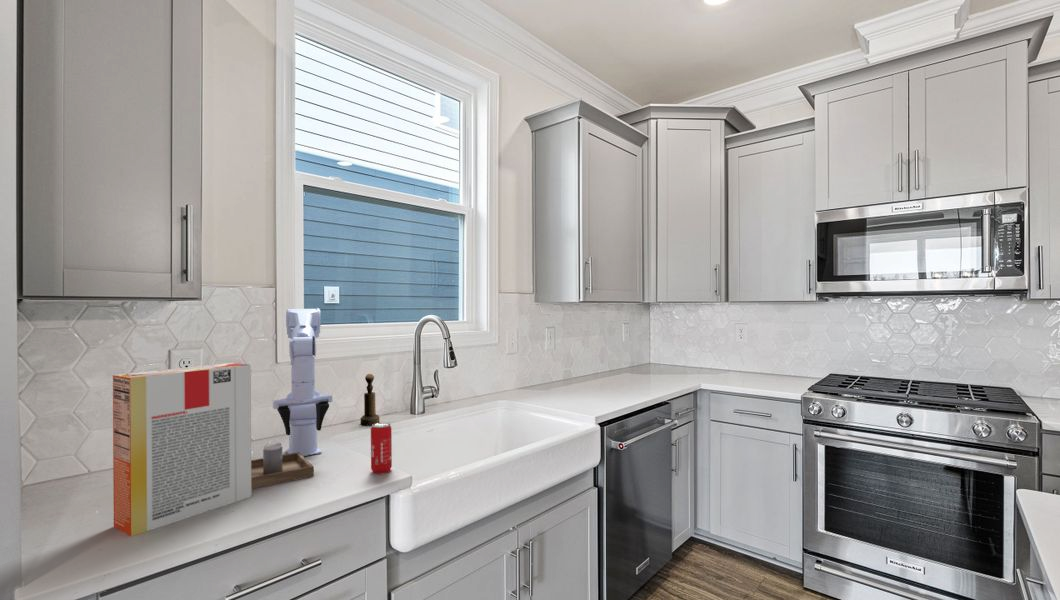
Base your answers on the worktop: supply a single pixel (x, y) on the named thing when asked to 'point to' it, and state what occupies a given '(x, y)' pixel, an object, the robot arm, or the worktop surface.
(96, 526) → the worktop surface
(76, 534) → the worktop surface
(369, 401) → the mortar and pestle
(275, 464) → the cylinder
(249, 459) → the cereal box
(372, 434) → the beverage can
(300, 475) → the walnut tray
